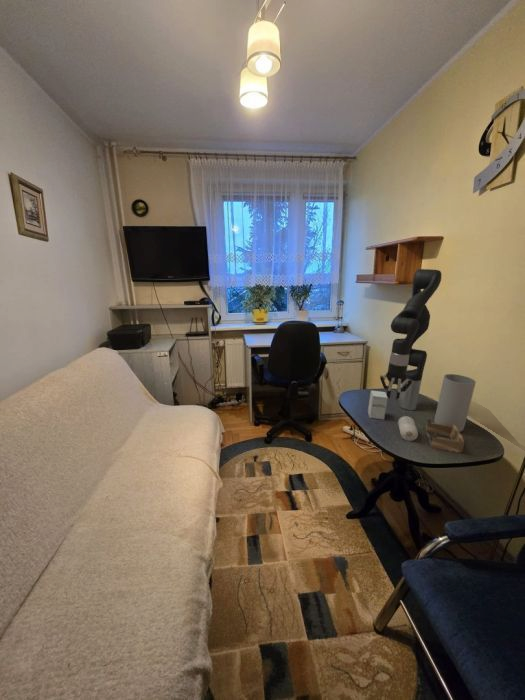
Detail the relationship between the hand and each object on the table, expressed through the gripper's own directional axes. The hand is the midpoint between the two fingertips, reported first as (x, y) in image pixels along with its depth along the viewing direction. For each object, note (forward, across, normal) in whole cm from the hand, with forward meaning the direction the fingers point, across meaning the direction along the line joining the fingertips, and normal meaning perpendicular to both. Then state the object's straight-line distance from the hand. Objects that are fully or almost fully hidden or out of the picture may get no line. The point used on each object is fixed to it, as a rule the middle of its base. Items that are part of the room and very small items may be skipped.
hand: (392, 398), depth 130 cm
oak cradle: (+17, -24, 0) cm, 29 cm away
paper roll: (+14, -8, 0) cm, 16 cm away
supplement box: (+17, +4, -14) cm, 23 cm away
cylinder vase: (+17, -30, -17) cm, 38 cm away
